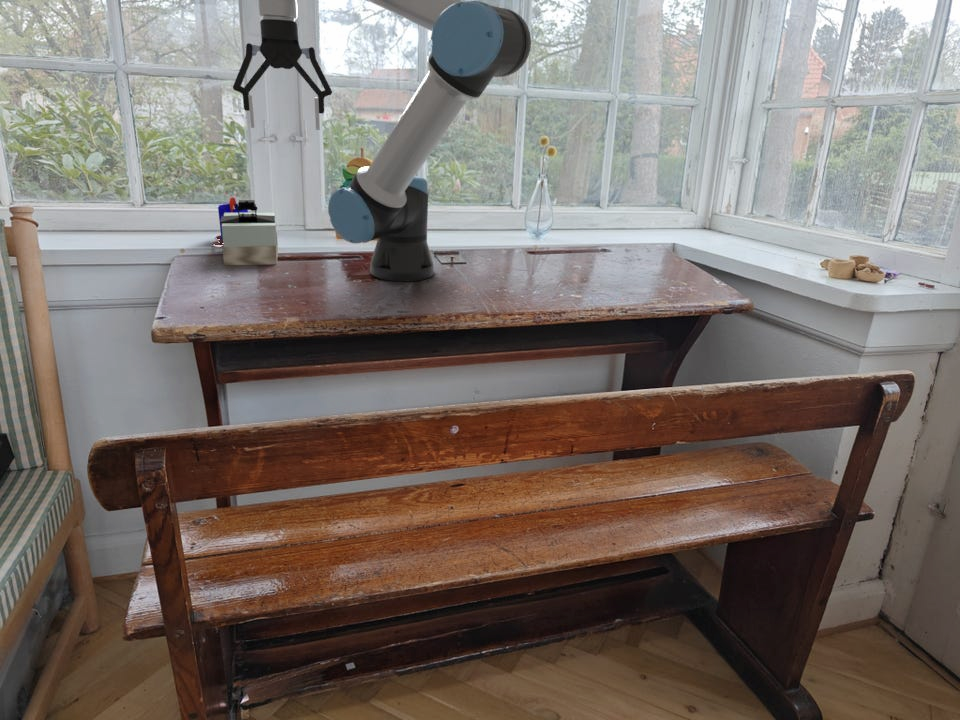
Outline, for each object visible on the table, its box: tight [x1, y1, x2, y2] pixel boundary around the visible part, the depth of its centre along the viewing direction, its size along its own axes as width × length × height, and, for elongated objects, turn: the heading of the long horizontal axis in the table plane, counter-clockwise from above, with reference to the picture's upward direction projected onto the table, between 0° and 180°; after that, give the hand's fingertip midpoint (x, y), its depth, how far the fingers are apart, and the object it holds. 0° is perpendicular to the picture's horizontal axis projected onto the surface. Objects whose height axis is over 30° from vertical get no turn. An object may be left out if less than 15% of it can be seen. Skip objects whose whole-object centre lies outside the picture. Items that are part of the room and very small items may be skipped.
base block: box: [221, 231, 279, 266], centre depth 164 cm, size 12×15×5 cm
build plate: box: [219, 199, 276, 224], centre depth 159 cm, size 12×7×5 cm, turn 106°
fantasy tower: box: [213, 196, 249, 245], centre depth 175 cm, size 12×12×12 cm
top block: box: [222, 211, 278, 247], centre depth 162 cm, size 12×15×5 cm
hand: (285, 128), depth 144 cm, fingers open, 13 cm apart
